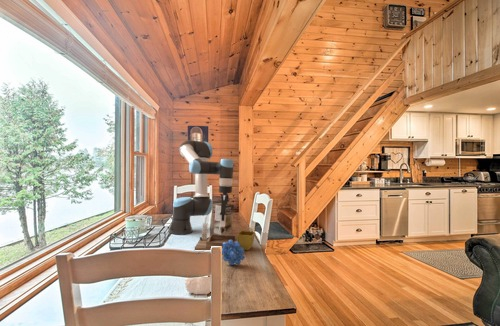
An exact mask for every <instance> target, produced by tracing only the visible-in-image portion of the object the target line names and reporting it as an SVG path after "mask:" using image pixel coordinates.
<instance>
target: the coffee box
mask: <svg viewBox="0 0 500 326" xmlns="http://www.w3.org/2000/svg"><path fill="white" fill-rule="evenodd" d="M221 204H222V203H221ZM221 204H220V203H219V204H215V207H214V208H215V210H214V223H213V234H215V235H227V234H231V233H232V232H233V222H234V204H230V203H228V204H226V214H225V215H226V220H225V227H220V219H221V215H220V213H221Z"/></svg>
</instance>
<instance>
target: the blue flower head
mask: <svg viewBox="0 0 500 326" xmlns="http://www.w3.org/2000/svg"><path fill="white" fill-rule="evenodd" d="M244 253H245V250H244V248H243V247H240V243H239V242H238V240H237V241H236V242H235V243H234V241H233V240H231V239H230V240H228V243H227V242H224V243H223V248H222V254H221V255H222V260H223V261H225V262H228V264H229V265H230V266H234V265H237V266H238V265H241V263H242V261H243V260H245V257H246V256H245V255H244Z"/></svg>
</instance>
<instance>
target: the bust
mask: <svg viewBox="0 0 500 326" xmlns="http://www.w3.org/2000/svg"><path fill="white" fill-rule="evenodd" d="M185 288H186V291H187V292H188V293H190V294H194V295H195V296H196V295H208V294H210V277H201V278H185Z"/></svg>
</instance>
